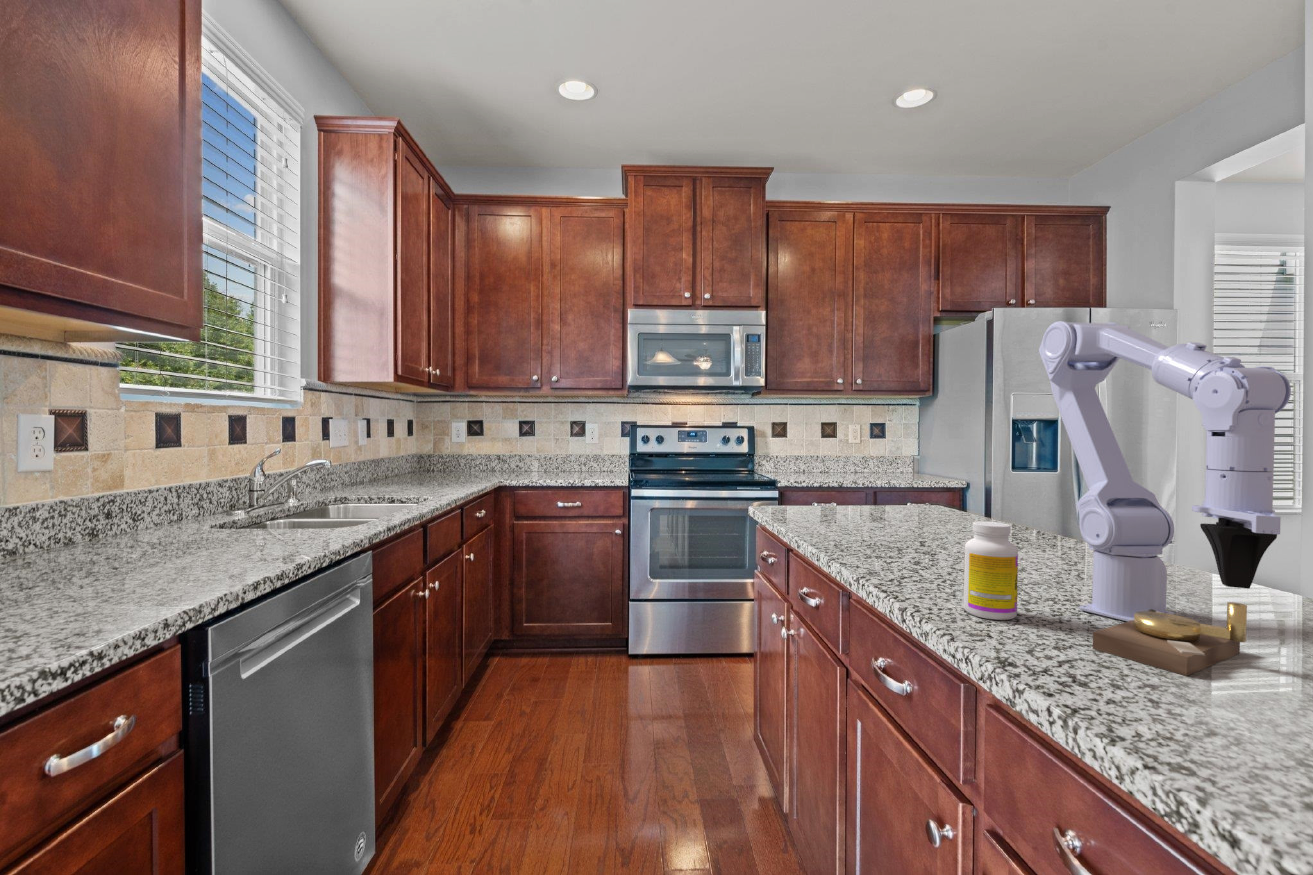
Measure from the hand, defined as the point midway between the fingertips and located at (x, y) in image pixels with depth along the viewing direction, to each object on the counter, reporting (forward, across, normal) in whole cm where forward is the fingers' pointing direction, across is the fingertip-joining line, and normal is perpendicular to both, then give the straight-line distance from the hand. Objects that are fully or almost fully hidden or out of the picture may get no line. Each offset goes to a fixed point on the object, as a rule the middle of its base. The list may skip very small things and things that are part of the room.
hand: (1235, 586), depth 71 cm
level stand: (+8, +2, -7) cm, 11 cm away
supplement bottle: (+8, -5, -25) cm, 27 cm away
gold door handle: (+6, +3, -5) cm, 8 cm away
